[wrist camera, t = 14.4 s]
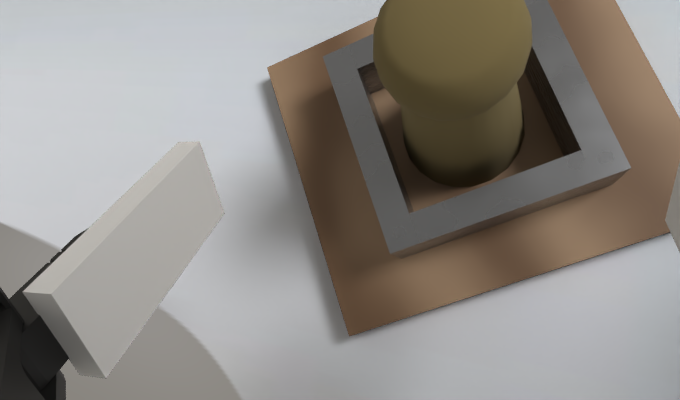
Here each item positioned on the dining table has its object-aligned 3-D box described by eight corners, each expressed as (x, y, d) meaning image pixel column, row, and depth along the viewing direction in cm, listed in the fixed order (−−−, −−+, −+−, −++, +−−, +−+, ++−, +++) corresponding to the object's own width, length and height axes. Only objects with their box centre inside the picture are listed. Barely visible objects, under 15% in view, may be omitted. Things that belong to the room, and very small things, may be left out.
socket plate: (571, -59, 27) (586, -123, 23) (718, 216, 23) (770, 198, 19) (275, 76, 31) (242, 41, 26) (354, 334, 26) (330, 341, 22)
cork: (491, 207, 24) (494, 142, 14) (383, 158, 26) (316, 68, 16) (546, 99, 25) (590, -45, 14) (435, 58, 27) (403, -95, 16)
